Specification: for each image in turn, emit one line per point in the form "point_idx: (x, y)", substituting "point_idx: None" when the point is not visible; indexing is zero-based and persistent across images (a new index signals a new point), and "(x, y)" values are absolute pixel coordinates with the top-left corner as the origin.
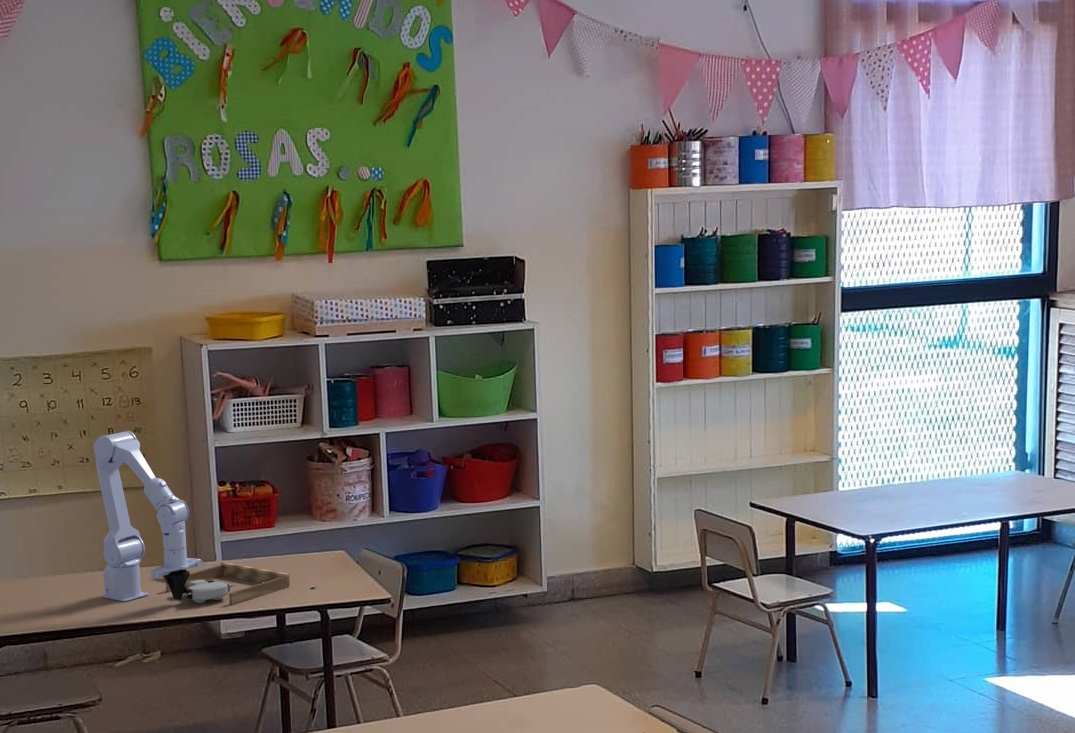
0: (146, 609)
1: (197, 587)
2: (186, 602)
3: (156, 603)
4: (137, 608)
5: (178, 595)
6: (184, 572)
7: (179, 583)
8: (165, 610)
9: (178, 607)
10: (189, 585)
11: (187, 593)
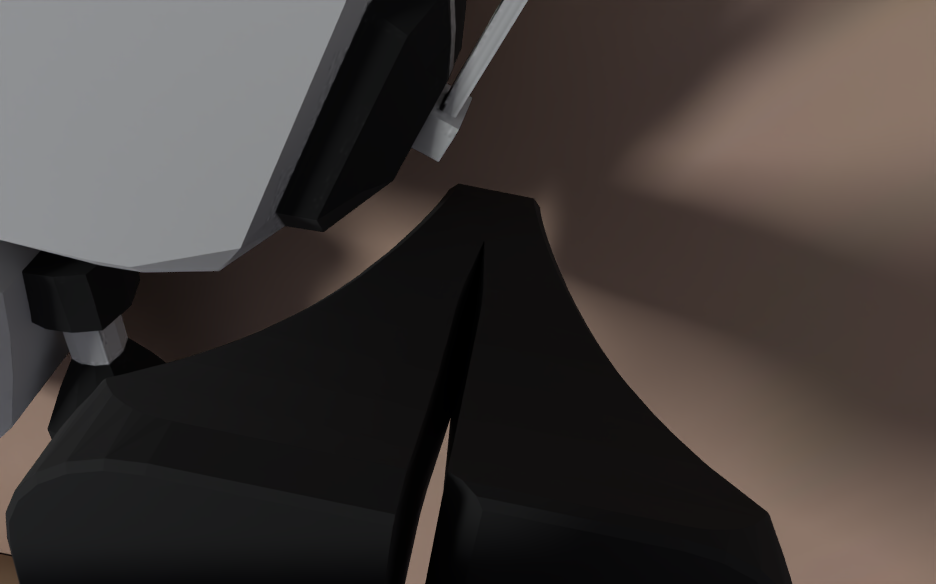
0: (867, 453)
1: (109, 26)
2: None
3: None
4: (837, 558)
5: (542, 238)
6: (237, 573)
7: (539, 373)
8: (881, 180)
9: (646, 84)
10: (15, 384)
11: (441, 84)
